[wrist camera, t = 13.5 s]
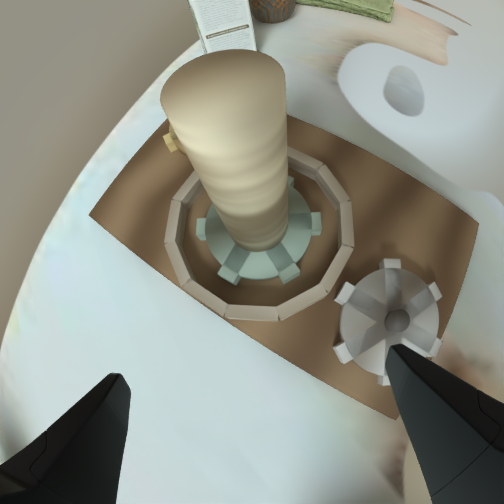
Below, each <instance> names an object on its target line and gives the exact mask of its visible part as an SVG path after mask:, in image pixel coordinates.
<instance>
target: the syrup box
mask: <svg viewBox="0 0 504 504" xmlns="http://www.w3.org/2000/svg"><path fill="white" fill-rule="evenodd" d="M188 3H189V6H190V9H191V12H192V15H193V18H194V21H195V24H196V27H197V31H198V34H199V37H200V40H201V43H202V46H203V49H204V52H205V54H208V53H212V52H216V51H221V50H228V49H247V50H253V51H257V48H256V41H255V35H254V29H253V23H252V17H251V12H250V6H249V1H248V0H188Z"/></svg>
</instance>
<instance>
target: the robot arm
mask: <svg viewBox="0 0 504 504" xmlns="http://www.w3.org/2000/svg"><path fill="white" fill-rule="evenodd" d="M385 368H386V372H387V375H388V378H389V381H390V385H391V388H392V392H393V395H394V399H395V402H396V405H397V408H398V410H399V413H400V415H401V417H402V420H403V422H404V425H405V427H406V430H407V432H408V435H409V438H410V440H411V443H412V445H413V448H414V451H415V453H416V456H417V459H418V462H419V464H420V467H421V470H422V473H423V476H424V479H425V481H426V484H427V488H428V490H429V494H430V496H431V500H432V503H433V504H504V403H502V402H499V401H498V400H496V399H494V398H492V397H490V396H489V395H487V394H485V393H483V392H482V391H480V390H477V388H475V387H473V386H472V385H470V384H468V383H467V382H465V381H463V380H462V379H460V378H458V377H457V376H455V375H454V374H452V373H450V372H449V371H447V370H445V369H444V368H442V367H440V366H439V365H437V364H435V363H434V362H432V361H430V360H429V359H427V358H425V357H424V356H422V355H420V354H419V353H417V352H415V351H414V350H412V349H410V348H409V347H407V346H405V345H404V344H402V343H398V344H395V345H391V346H390V347H389V350H388V354H387V358H386V362H385ZM130 399H131V390H130V388H129V386H128V384H127V383H126V381H125V379H124V377H123V376H122V375H121V374H120V373H110V374H108V375H107V376H106V377H105V378H104V379H103V380H102V381H100V382H99V383H98V384H97V385H96V386H95V387H94V388H93V389H91V390H90V391H89V392H88V393H87V394H86V395H85V396H84V397H82V398H81V399H80V400H79V401H78V402H77V403H76V404H75V405H73V406H72V407H71V408H70V409H69V410H68V411H67V412H66V413H64V414H63V415H62V416H61V417H60V418H59V419H58V420H57V421H55V422H54V423H53V424H52V425H51V426H50V427H49V428H48V429H47V431H44V432H43V433H42V434H41V435H40V436H39V437H37V438H36V439H35V440H34V441H33V442H32V443H30V444H29V445H28V446H26V447H25V448H24V449H22V450H21V451H20V452H18V453H17V454H16V455H14V456H13V457H11V458H10V459H9V460H7V461H6V462H4V463H3V464H1V465H0V504H116V499H117V491H118V484H119V477H120V471H121V465H122V459H123V453H124V447H125V442H126V437H127V431H128V420H129V409H130Z"/></svg>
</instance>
